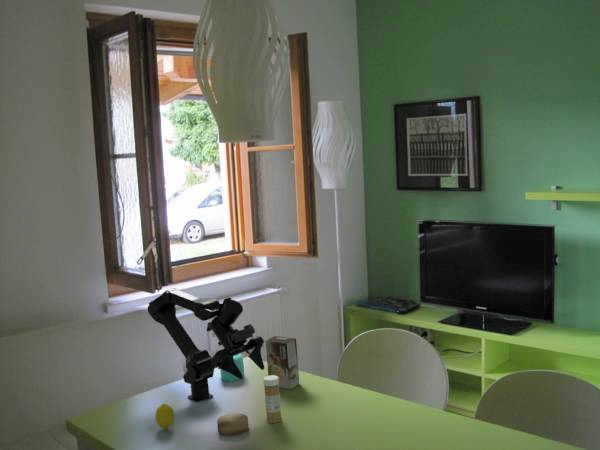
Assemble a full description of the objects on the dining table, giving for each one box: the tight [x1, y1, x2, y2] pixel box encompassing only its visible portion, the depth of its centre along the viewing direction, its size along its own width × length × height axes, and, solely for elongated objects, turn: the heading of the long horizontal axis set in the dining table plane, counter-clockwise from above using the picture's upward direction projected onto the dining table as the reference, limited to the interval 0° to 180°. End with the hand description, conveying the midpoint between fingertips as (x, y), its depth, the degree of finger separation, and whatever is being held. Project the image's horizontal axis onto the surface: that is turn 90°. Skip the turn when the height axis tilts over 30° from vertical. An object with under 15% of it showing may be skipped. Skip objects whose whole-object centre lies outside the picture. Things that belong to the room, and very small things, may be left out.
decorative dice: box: [219, 353, 245, 382], centre depth 240 cm, size 8×8×8 cm
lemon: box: [155, 403, 176, 430], centre depth 200 cm, size 6×6×8 cm
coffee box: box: [264, 335, 300, 390], centre depth 229 cm, size 9×6×16 cm
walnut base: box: [216, 412, 249, 437], centre depth 197 cm, size 9×9×3 cm
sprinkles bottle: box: [262, 375, 282, 424], centre depth 200 cm, size 5×5×14 cm
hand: (253, 373), depth 205 cm, fingers open, 9 cm apart
